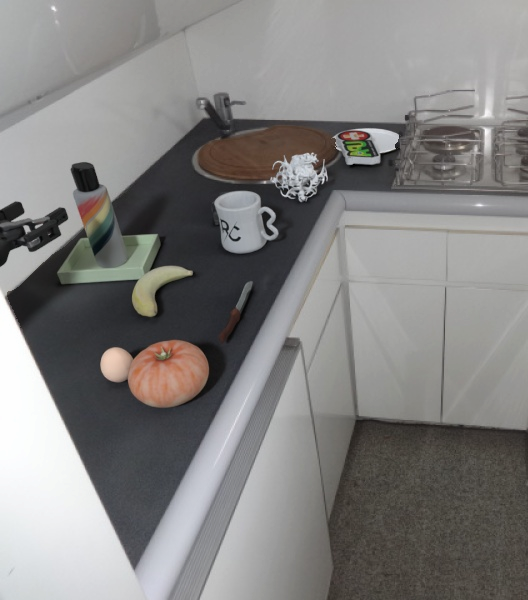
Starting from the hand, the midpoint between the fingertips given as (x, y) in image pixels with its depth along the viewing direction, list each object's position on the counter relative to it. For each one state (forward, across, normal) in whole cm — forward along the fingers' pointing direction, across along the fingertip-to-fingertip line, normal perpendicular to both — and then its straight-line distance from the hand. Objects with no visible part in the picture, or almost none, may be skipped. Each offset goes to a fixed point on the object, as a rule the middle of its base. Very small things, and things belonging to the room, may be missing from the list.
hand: (42, 209), depth 96 cm
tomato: (-19, -32, +17) cm, 41 cm away
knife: (+1, -32, +17) cm, 36 cm away
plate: (+85, -30, +17) cm, 92 cm away
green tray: (+11, 0, +17) cm, 20 cm away
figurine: (+51, -23, +6) cm, 56 cm away
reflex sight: (+36, -12, +17) cm, 41 cm away
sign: (+78, -35, +14) cm, 87 cm away
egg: (-18, -22, +17) cm, 33 cm away
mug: (+24, -24, +17) cm, 38 cm away
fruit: (+3, -16, +17) cm, 24 cm away
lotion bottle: (+11, 0, +16) cm, 20 cm away
